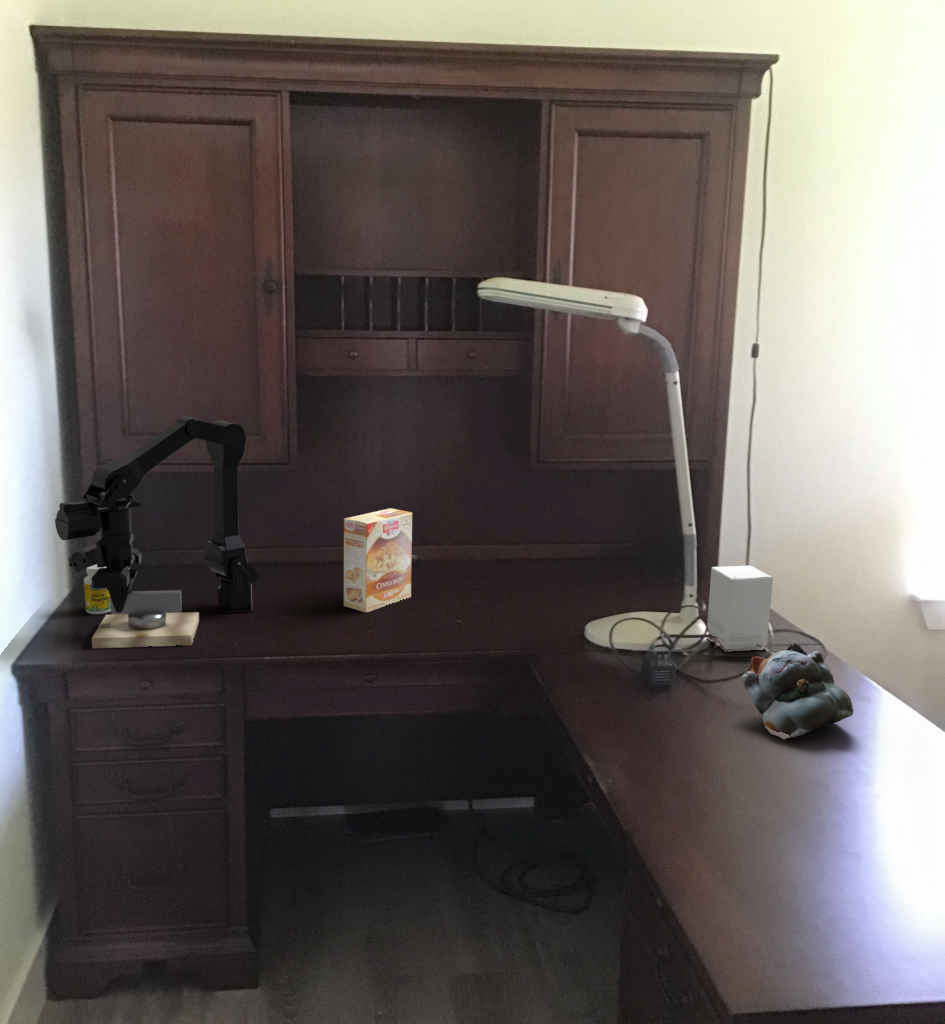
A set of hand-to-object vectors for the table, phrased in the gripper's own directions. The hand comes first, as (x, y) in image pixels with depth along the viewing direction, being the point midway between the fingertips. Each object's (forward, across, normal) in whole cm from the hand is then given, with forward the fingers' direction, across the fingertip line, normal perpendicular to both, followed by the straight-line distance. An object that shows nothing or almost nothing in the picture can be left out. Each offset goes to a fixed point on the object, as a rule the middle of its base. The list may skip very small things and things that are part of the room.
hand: (119, 610), depth 195 cm
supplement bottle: (+5, -16, -7) cm, 18 cm away
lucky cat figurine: (+5, +55, +112) cm, 125 cm away
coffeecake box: (+5, -17, +51) cm, 54 cm away
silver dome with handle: (+3, 0, +5) cm, 6 cm away
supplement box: (+5, +17, +119) cm, 120 cm away
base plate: (+5, 0, +5) cm, 7 cm away
